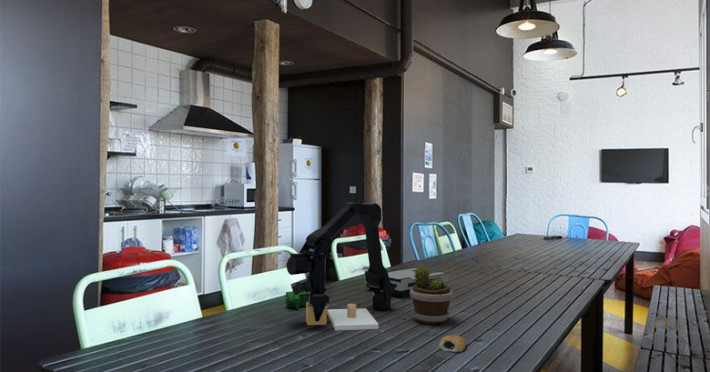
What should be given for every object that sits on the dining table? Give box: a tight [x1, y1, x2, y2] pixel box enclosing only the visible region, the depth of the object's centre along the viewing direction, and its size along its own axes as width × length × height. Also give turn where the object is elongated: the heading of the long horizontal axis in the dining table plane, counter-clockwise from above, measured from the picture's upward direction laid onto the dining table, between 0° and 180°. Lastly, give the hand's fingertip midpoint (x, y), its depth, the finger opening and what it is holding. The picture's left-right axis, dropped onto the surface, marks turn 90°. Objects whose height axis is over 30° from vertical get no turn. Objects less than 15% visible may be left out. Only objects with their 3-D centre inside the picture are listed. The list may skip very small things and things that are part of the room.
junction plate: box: [327, 303, 379, 332], centre depth 168 cm, size 14×20×6 cm
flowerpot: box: [409, 262, 454, 325], centre depth 170 cm, size 14×15×20 cm
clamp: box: [284, 290, 309, 311], centre depth 185 cm, size 12×6×9 cm, turn 112°
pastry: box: [438, 334, 467, 353], centre depth 143 cm, size 9×7×4 cm
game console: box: [364, 267, 449, 299], centre depth 219 cm, size 21×32×8 cm, turn 133°
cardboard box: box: [305, 302, 328, 326], centre depth 166 cm, size 6×6×6 cm
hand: (316, 318), depth 166 cm, fingers closed on cardboard box, 6 cm apart
